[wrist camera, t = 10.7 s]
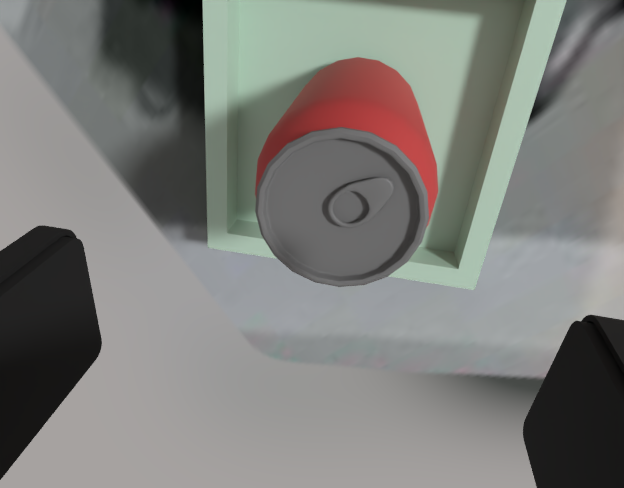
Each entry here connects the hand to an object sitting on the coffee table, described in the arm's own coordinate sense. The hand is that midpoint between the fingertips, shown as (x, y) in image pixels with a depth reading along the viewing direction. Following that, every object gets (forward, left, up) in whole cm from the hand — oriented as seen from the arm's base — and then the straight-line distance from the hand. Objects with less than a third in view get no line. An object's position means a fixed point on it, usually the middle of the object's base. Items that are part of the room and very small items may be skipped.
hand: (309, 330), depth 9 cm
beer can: (0, 0, -19) cm, 19 cm away
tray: (+1, 0, -19) cm, 19 cm away
